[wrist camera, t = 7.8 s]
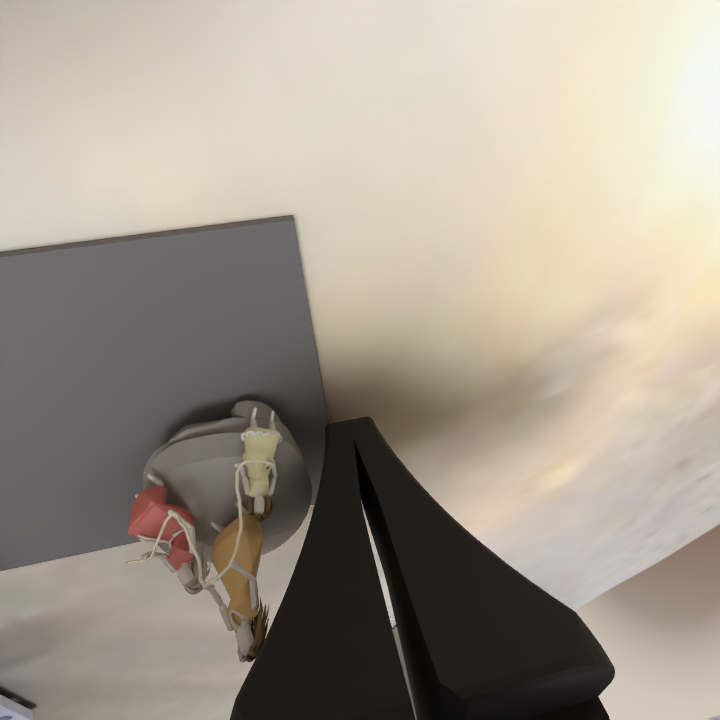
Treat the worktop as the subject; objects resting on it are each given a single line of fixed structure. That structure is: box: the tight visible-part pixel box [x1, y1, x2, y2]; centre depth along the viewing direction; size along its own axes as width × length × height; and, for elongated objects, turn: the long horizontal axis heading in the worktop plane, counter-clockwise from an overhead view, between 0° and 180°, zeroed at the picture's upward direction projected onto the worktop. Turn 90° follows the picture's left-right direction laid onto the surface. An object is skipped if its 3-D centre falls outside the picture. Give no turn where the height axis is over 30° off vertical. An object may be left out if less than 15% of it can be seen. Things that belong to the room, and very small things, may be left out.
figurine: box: [124, 400, 312, 662], centre depth 9 cm, size 5×4×6 cm
